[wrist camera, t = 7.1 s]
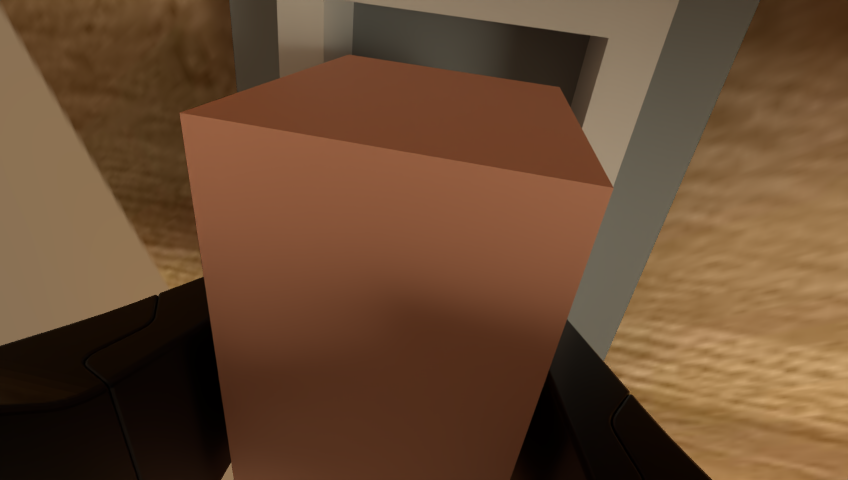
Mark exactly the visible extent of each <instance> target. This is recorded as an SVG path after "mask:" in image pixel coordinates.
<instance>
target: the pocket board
mask: <svg viewBox="0 0 848 480" xmlns="http://www.w3.org/2000/svg"><path fill="white" fill-rule="evenodd" d="M759 2H760V0H229V3H230V14H231V26H232V38H233V49H234V61H235V72H236V84H237V93H238V92H241V91H244V90H247V89H250V88H253V87H255V86H258V85H261V84H264V83H267V82H270V81H273V80H276V79H279V78H282V77H285V76H287V75H290V74H293V73H296V72H299V71H302V70H305V69H308V68H311V67H314V66H316V65H319V64H322V63H325V62H328V61H331V60H334V59H337V58H340V57H343V56H345V55H348V54H349V55H355V56H362V57H368V58H375V59H381V60H388V61H394V62H400V63H407V64H413V65H420V66H426V67H433V68H439V69H446V70H452V71H459V72H465V73H472V74H478V75H484V76H491V77H497V78H504V79H510V80H517V81H523V82H530V83H536V84H543V85H549V86H555V87H560V89H561V91H562V93H563V94H564V96H565V98H566V100H567V102H568V104H569V106H570V107H571V109H572V111H573V113H574V115H575V117H576V119H577V121H578V122H579V124H580V126H581V128H582V130H583V132H584V134H585V135H586V137H587V139H588V141H589V143H590V145H591V147H592V148H593V150H594V152H595V154H596V156H597V158H598V160H599V162H600V163H601V165H602V167H603V169H604V171H605V173H606V175H607V176H608V178H609V180H610V182H611V184H612V186H613V188H614V189H613V191H612V194H611V197H610V200H609V203H608V205H607V208H606V211H605V214H604V217H603V219H602V222H601V225H600V228H599V231H598V234H597V236H596V239H595V242H594V245H593V248H592V250H591V253H590V256H589V259H588V262H587V264H586V267H585V270H584V273H583V276H582V279H581V281H580V284H579V287H578V290H577V293H576V295H575V298H574V301H573V304H572V307H571V309H570V312H569V315H568V318H567V319H568V320H569V322H570V323H571V324H572V325H573V326H574V327H575V329H576V330H577V331H578V332H579V333H580V334H581V336H582V337H583V338H584V339H585V340H586V341H587V343H588V344H589V345H590V346H591V347H592V348H593V350H594V351H595V352H596V353H597V354H598V355H599V357H600V358H601V359H602V360H603V361H604V359H605V357H606V355H607V352H608V350H609V348H610V345H611V343H612V341H613V339H614V336H615V334H616V332H617V329H618V327H619V325H620V322H621V320H622V318H623V315H624V313H625V311H626V309H627V306H628V304H629V302H630V299H631V297H632V295H633V292H634V290H635V288H636V285H637V283H638V281H639V279H640V276H641V274H642V272H643V269H644V267H645V265H646V262H647V260H648V258H649V255H650V253H651V251H652V249H653V246H654V244H655V242H656V239H657V237H658V235H659V232H660V230H661V228H662V226H663V223H664V221H665V219H666V216H667V214H668V212H669V209H670V207H671V205H672V202H673V200H674V198H675V196H676V193H677V191H678V189H679V186H680V184H681V182H682V179H683V177H684V175H685V172H686V170H687V168H688V166H689V163H690V161H691V159H692V156H693V154H694V152H695V149H696V147H697V145H698V142H699V140H700V138H701V136H702V133H703V131H704V129H705V126H706V124H707V122H708V119H709V117H710V115H711V112H712V110H713V108H714V106H715V103H716V101H717V99H718V96H719V94H720V92H721V89H722V87H723V85H724V83H725V80H726V78H727V76H728V73H729V71H730V69H731V66H732V64H733V62H734V59H735V57H736V55H737V53H738V50H739V48H740V46H741V43H742V41H743V39H744V36H745V34H746V32H747V29H748V27H749V25H750V23H751V20H752V18H753V16H754V13H755V11H756V9H757V6H758V4H759Z"/></svg>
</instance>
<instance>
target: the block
mask: <svg viewBox="0 0 848 480" xmlns="http://www.w3.org/2000/svg"><path fill="white" fill-rule="evenodd" d="M180 120H181V126H182V133H183V140H184V147H185V153H186V160H187V167H188V173H189V180H190V187H191V194H192V200H193V207H194V214H195V221H196V227H197V234H198V241H199V248H200V254H201V261H202V268H203V275H204V281H205V288H206V295H207V302H208V308H209V315H210V322H211V328H212V335H213V342H214V349H215V355H216V362H217V369H218V376H219V382H220V389H221V396H222V403H223V409H224V416H225V423H226V430H227V436H228V443H229V450H230V457H231V463H232V470H233V476H234V480H510V478H511V475H512V473H513V470H514V467H515V464H516V461H517V458H518V456H519V453H520V450H521V447H522V444H523V442H524V439H525V436H526V433H527V430H528V428H529V425H530V422H531V419H532V416H533V413H534V411H535V408H536V405H537V402H538V399H539V397H540V394H541V391H542V388H543V385H544V383H545V380H546V377H547V374H548V371H549V369H550V366H551V363H552V360H553V357H554V354H555V352H556V349H557V346H558V343H559V340H560V338H561V335H562V332H563V329H564V326H565V324H566V321H567V318H568V315H569V312H570V309H571V307H572V304H573V301H574V298H575V295H576V293H577V290H578V287H579V284H580V281H581V279H582V276H583V273H584V270H585V267H586V264H587V262H588V259H589V256H590V253H591V250H592V248H593V245H594V242H595V239H596V236H597V234H598V231H599V228H600V225H601V222H602V219H603V217H604V214H605V211H606V208H607V205H608V203H609V200H610V197H611V194H612V191H613V189H614V188H613V186H612V184H611V182H610V180H609V178H608V176H607V175H606V173H605V171H604V169H603V167H602V165H601V163H600V162H599V160H598V158H597V156H596V154H595V152H594V150H593V148H592V147H591V145H590V143H589V141H588V139H587V137H586V135H585V134H584V132H583V130H582V128H581V126H580V124H579V122H578V121H577V119H576V117H575V115H574V113H573V111H572V109H571V107H570V106H569V104H568V102H567V100H566V98H565V96H564V94H563V93H562V91H561V89H560V87H555V86H549V85H543V84H536V83H530V82H523V81H517V80H510V79H504V78H497V77H491V76H484V75H478V74H472V73H465V72H459V71H452V70H446V69H439V68H433V67H426V66H420V65H413V64H407V63H400V62H394V61H388V60H381V59H375V58H368V57H362V56H355V55H349V54H348V55H345V56H343V57H340V58H337V59H334V60H331V61H328V62H325V63H322V64H319V65H316V66H314V67H311V68H308V69H305V70H302V71H299V72H296V73H293V74H290V75H287V76H285V77H282V78H279V79H276V80H273V81H270V82H267V83H264V84H261V85H258V86H255V87H253V88H250V89H247V90H244V91H241V92H238V93H235V94H232V95H229V96H226V97H224V98H221V99H218V100H215V101H212V102H209V103H206V104H203V105H200V106H197V107H195V108H192V109H189V110H186V111H183V112H180Z"/></svg>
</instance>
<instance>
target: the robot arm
mask: <svg viewBox="0 0 848 480" xmlns="http://www.w3.org/2000/svg"><path fill="white" fill-rule="evenodd" d="M629 394H630V392H629V390H628V389H627V388H626V387H625V386H624V385H623V383H622V382H621V381H620V380H619V379H618V378H617V376H616V375H615V374H614V373H613V372H612V371H611V369H610V368H609V367H608V366H607V365H606V364H605V362H604V361H603V360H602V359H601V358H600V357H599V355H598V354H597V353H596V352H595V351H594V350H593V348H592V347H591V346H590V345H589V344H588V343H587V341H586V340H585V339H584V338H583V337H582V336H581V334H580V333H579V332H578V331H577V330H576V329H575V327H574V326H573V325H572V324H571V323H570V322H569V320H568V319H567V321H566V324H565V326H564V329H563V332H562V335H561V338H560V340H559V343H558V346H557V349H556V352H555V354H554V357H553V360H552V363H551V366H550V369H549V371H548V374H547V377H546V380H545V383H544V385H543V388H542V391H541V394H540V397H539V399H538V402H537V405H536V408H535V411H534V413H533V416H532V419H531V422H530V425H529V428H528V430H527V433H526V436H525V439H524V442H523V444H522V447H521V450H520V453H519V456H518V458H517V461H516V464H515V467H514V470H513V473H512V475H511V478H510V480H712V479H711V478H710V477H709V476H708V475H707V474H706V473H705V472H704V471H703V470H702V469H701V468H700V467H699V466H698V465H697V464H696V463H695V462H694V461H693V460H692V459H691V458H690V457H689V456H688V455H687V454H686V453H685V452H684V451H683V450H682V449H681V448H680V447H679V446H678V445H677V444H676V443H675V442H674V441H673V440H672V439H671V438H670V436H669V435H668V434H667V433H666V432H665V431H664V430H663V429H662V428H661V427H660V425H659V424H658V423H657V422H656V421H655V420H654V419H653V418H652V417H651V415H650V414H649V413H648V412H647V411H646V410H645V409H644V408H643V406H642V405H641V404H640V403H639V402H638V401H637V399H636V398H635V397H634V396H633V395H631V394H630V395H629ZM230 463H231V457H230V450H229V443H228V436H227V430H226V423H225V416H224V409H223V403H222V396H221V389H220V382H219V376H218V369H217V362H216V355H215V349H214V342H213V335H212V328H211V322H210V315H209V308H208V302H207V295H206V288H205V281H204V277H202V278H199V279H197V280H194V281H191V282H188V283H186V284H183V285H180V286H178V287H175V288H172V289H170V290H168V291H164V292H162V293H160V294H159V296H157V295H154V296H151V297H148V298H145V299H143V300H140V301H138V302H135V303H132V304H129V305H127V306H124V307H121V308H118V309H115V310H112V311H110V312H107V313H104V314H101V315H98V316H94V317H91V318H88V319H85V320H82V321H79V322H76V323H73V324H70V325H66V326H63V327H60V328H57V329H54V330H50V331H47V332H44V333H41V334H37V335H34V336H31V337H28V338H25V339H21V340H18V341H15V342H11V343H8V344H5V345H2V346H0V480H221V479H222V477H223V475H224V473H225V472H226V470H227V468H228V467H229V465H230Z"/></svg>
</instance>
